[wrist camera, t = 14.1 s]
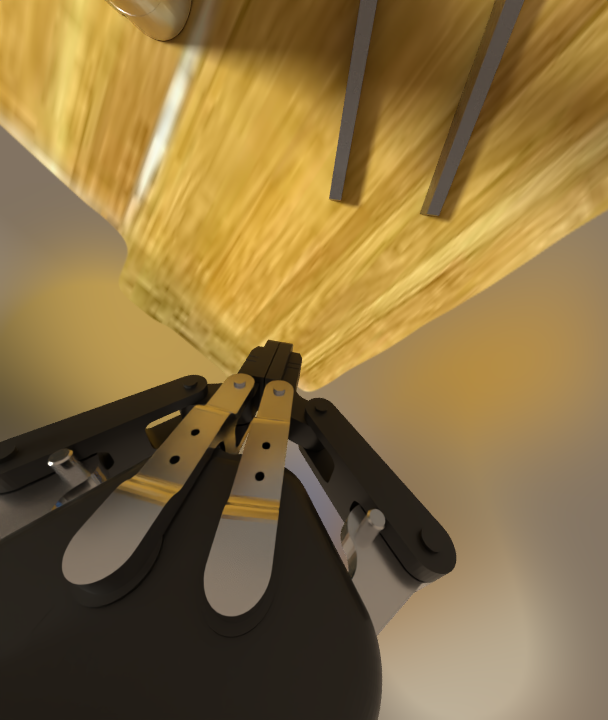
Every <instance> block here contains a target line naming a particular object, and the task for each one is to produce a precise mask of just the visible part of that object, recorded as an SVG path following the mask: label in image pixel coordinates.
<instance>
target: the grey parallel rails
mask: <svg viewBox="0 0 608 720" xmlns="http://www.w3.org/2000/svg"><path fill="white" fill-rule="evenodd" d="M523 2H524V0H496V1H495V3H494V6H493V9H492V12H491V15H490V18H489V20H488V23H487V26H486V29H485V32H484V34H483V37H482V40H481V43H480V46H479V49H478V51H477V54H476V57H475V60H474V63H473V65H472V68H471V71H470V74H469V77H468V80H467V82H466V85H465V88H464V91H463V94H462V96H461V99H460V102H459V105H458V108H457V111H456V113H455V116H454V119H453V122H452V125H451V127H450V130H449V133H448V136H447V139H446V142H445V144H444V147H443V150H442V153H441V156H440V158H439V161H438V164H437V167H436V170H435V173H434V175H433V178H432V181H431V184H430V187H429V189H428V192H427V195H426V198H425V201H424V203H423V206H422V209H421V212H420V214H424V215H430V216H439V214H440V212H441V209H442V206H443V204H444V201H445V199H446V196H447V194H448V191H449V189H450V186H451V184H452V181H453V179H454V176H455V174H456V171H457V169H458V166H459V164H460V161H461V159H462V156H463V154H464V151H465V149H466V146H467V144H468V141H469V138H470V136H471V133H472V131H473V128H474V126H475V123H476V121H477V118H478V116H479V113H480V111H481V108H482V106H483V103H484V101H485V98H486V96H487V93H488V91H489V88H490V86H491V83H492V81H493V78H494V75H495V73H496V70H497V68H498V65H499V63H500V60H501V58H502V55H503V53H504V50H505V48H506V45H507V43H508V40H509V38H510V35H511V33H512V30H513V28H514V25H515V23H516V20H517V18H518V15H519V12H520V10H521V7H522V5H523ZM376 5H377V0H360V6H359V13H358V19H357V25H356V32H355V38H354V44H353V51H352V57H351V64H350V70H349V76H348V83H347V89H346V95H345V102H344V108H343V114H342V121H341V127H340V133H339V140H338V146H337V152H336V159H335V165H334V171H333V178H332V184H331V190H330V197H329V199H330V200H335V201H341V197H342V192H343V186H344V181H345V175H346V170H347V164H348V159H349V153H350V148H351V142H352V137H353V131H354V126H355V120H356V115H357V109H358V104H359V99H360V93H361V88H362V82H363V77H364V71H365V66H366V60H367V55H368V49H369V44H370V38H371V33H372V27H373V22H374V16H375V11H376Z"/></svg>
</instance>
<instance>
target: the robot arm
mask: <svg viewBox="0 0 608 720" xmlns="http://www.w3.org/2000/svg"><path fill="white" fill-rule="evenodd" d="M105 1H106V2H107V3H108V4H109V5H110V6H112V7H113V8H114V9H115V10H116V11H117V12H118V13H119V14H124V15H125V16H126V17H127V18H128V19H129V20H130V21H131V22H132V23H133V24H134V25H136V26H137V27H138V28H139V29H140V30H141V31H142V32H144V33H145V34H146V35H147V36H149V37H151V38H153V39H156V40H162V41H164V40H169V39H172V38H173V37H175V36H177V35H178V34H179V32H180V31H181V30H182V29H183V27H184V25H185V23H186V21H187V19H188V16H189V12H190V8H191V1H192V0H105ZM292 350H293V344H290V343H284V342H281V343H280V342H278V341H273V340H268V341H267V343H266V344H265V346H264V347H260V346H258V347H256V348H254V349H253V350H252V351H251V352H250V354H249V356H248V357H247V359H246V361H245V362H244V364H243V365H242V367H241V369H240V370H239V372H238V374H234V375H231V376H229V377H228V378H227V379H226V380H225V381H224V383H219V384H207V381H206V379H205V378H204V377H202V376H199V375H189V376H185V377H182V378H179V379H176V380H174V381H171V382H168V383H165V384H162V385H159V386H157V387H154V388H151V389H148V390H146V391H143V392H140V393H137V394H135V395H131V396H128V397H126V398H123V399H120V400H117V401H115V402H112V403H109V404H106V405H103V406H101V407H98V408H95V409H92V410H89V411H86V412H83V413H81V414H78V415H75V416H72V417H70V418H67V419H64V420H61V421H58V422H55V423H52V424H50V425H47V426H44V427H41V428H38V429H36V430H33V431H30V432H27V433H24V434H22V435H19V436H16V437H13V438H10V439H7V440H5V441H2V442H0V720H378V715H379V710H380V703H381V694H382V666H381V657H380V650H379V645H378V640H377V635H378V634H379V633H380V632H381V631H382V629H383V628H384V627H385V626H386V625H387V623H388V622H389V621H390V620H391V619H392V618H393V617H394V615H395V614H396V613H397V612H398V611H399V609H400V608H401V607H402V606H403V605H404V604H405V603H406V601H407V600H408V599H409V598H410V597H411V595H412V594H413V593H414V592H416V591H418V590H420V589H421V588H423V587H425V586H427V585H429V584H430V583H432V582H434V581H436V580H437V579H439V578H441V577H442V576H444V575H446V574H448V573H449V572H451V571H452V570H453V568H454V567H455V564H456V552H455V548H454V545H453V542H452V540H451V538H450V537H449V535H448V533H447V532H446V531H445V529H444V528H443V527H442V526H441V525H440V524H439V522H438V521H437V520H436V519H435V518H434V517H433V516H432V515H431V513H430V512H429V511H428V510H427V509H426V508H425V507H424V506H423V504H422V503H421V502H420V501H419V500H418V499H417V498H416V497H415V496H414V495H413V493H412V492H411V491H410V490H409V489H408V488H407V487H406V485H405V484H404V483H403V482H402V481H401V480H400V479H399V478H398V476H397V475H396V474H395V473H394V472H393V471H392V470H391V469H390V468H389V466H388V465H387V464H386V463H385V462H384V461H383V460H382V459H381V457H380V456H379V455H378V454H377V453H376V452H375V451H374V450H373V449H372V448H371V446H370V445H369V444H368V443H367V442H366V441H365V439H364V438H363V437H362V436H361V435H360V434H359V433H358V432H357V431H356V429H355V428H354V427H353V426H352V425H351V424H350V423H349V422H348V420H347V419H346V418H345V417H344V416H343V415H342V414H341V413H340V412H339V410H338V409H337V408H336V407H335V406H334V405H333V404H332V403H331V402H330V401H328V400H326V399H323V398H313V399H311V400H309V401H308V400H305V399H303V398H302V397H301V396H299V395H298V393H297V392H296V390H297V386H298V381H299V376H300V370H301V363H302V357H301V355H300V353H294V352H292ZM178 410H180V413H181V415H179V416H176V417H174V418H172V419H170V420H168V421H166V422H163V423H161V424H159V425H157V426H154V427H152V428H148V429H146V427H147V425H148V424H149V423H151V422H153V421H155V420H157V419H160V418H162V417H164V416H166V415H169V414H171V413H173V412H176V411H178ZM257 411H258V414H257V417H255V415H256V412H257ZM248 433H249V434H248ZM247 436H248V437H247ZM246 438H247V441H246V444H245V447H244V451H243V454H239V452H240V450H241V448H242V446H243V444H244V442H245V440H246ZM288 439H289V440H291V441H293V442H294V443H296V444H298V445H299V450H300V451H301V453H302V455H303V456H304V458H305V460H306V461H307V463H308V464H309V466H310V468H311V469H312V471H313V473H314V474H315V476H316V478H317V479H318V481H319V482H320V484H321V486H322V487H323V489H324V491H325V492H326V494H327V495H328V497H329V499H330V500H331V502H332V504H333V505H334V507H335V508H336V510H337V512H338V513H339V515H340V516H341V518H342V520H343V521H344V525H343V527H342V529H341V535H340V537H341V544H342V548H343V550H344V553H345V555H346V558H347V561H348V570H349V571H347V569H346V568H345V565H344V564H343V562H342V560H341V558H340V556H339V554H338V552H337V550H336V548H335V546H334V544H333V542H332V540H331V538H330V536H329V534H328V533H327V530H326V528H325V527H324V525H323V523H322V521H321V519H320V517H319V515H318V513H317V511H316V509H315V507H314V505H313V503H312V501H311V499H310V497H309V495H308V494H307V492H306V489H305V488H304V486H303V484H302V483H301V481H300V480H299V479H298V478H297V477H296V475H294V474H293V473H292V472H291V471H289V470H288V469H287V468H285V467H284V466H285V458H286V450H287V442H288Z"/></svg>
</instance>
